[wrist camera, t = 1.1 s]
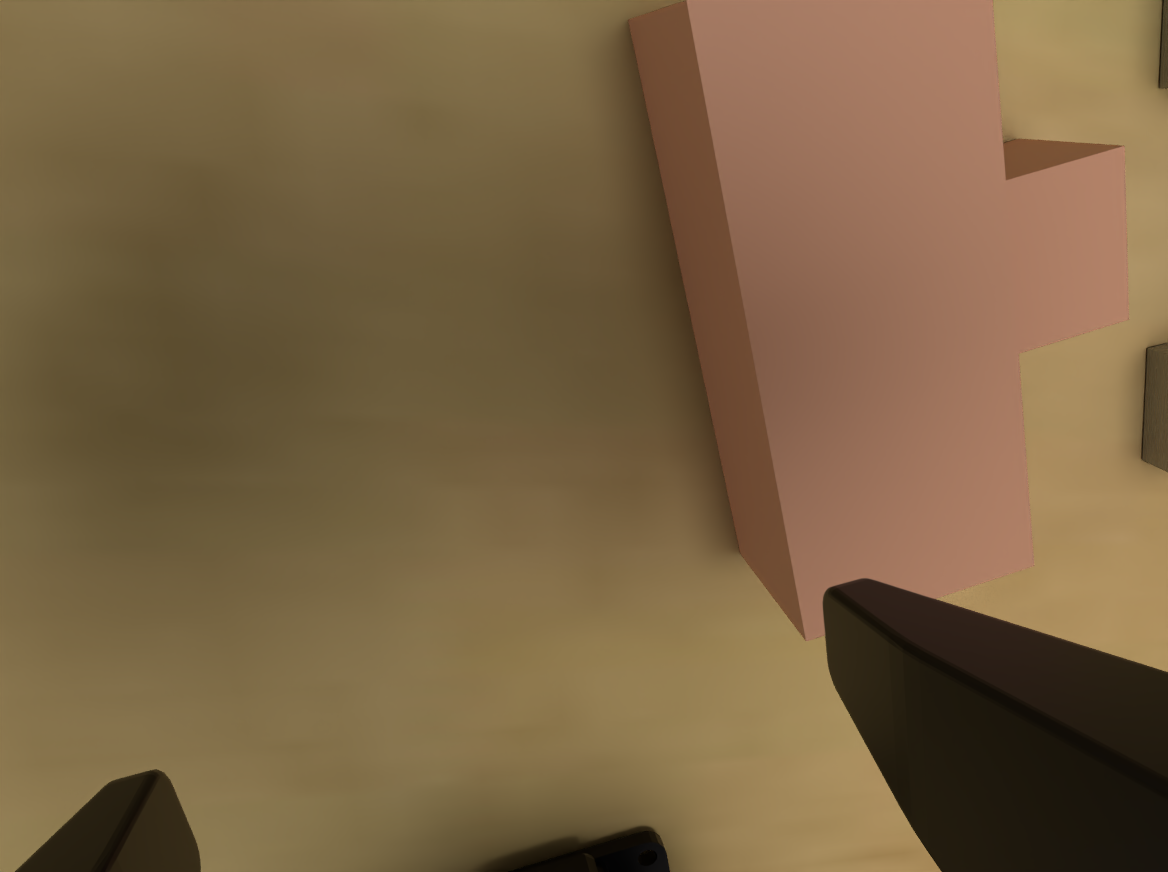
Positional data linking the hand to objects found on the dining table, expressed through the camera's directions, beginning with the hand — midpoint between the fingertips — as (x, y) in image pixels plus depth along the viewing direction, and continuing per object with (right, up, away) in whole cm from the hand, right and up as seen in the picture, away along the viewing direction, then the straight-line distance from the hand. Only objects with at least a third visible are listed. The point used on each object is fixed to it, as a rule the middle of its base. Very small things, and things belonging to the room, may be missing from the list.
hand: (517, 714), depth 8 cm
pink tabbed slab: (+7, +6, +12) cm, 15 cm away
